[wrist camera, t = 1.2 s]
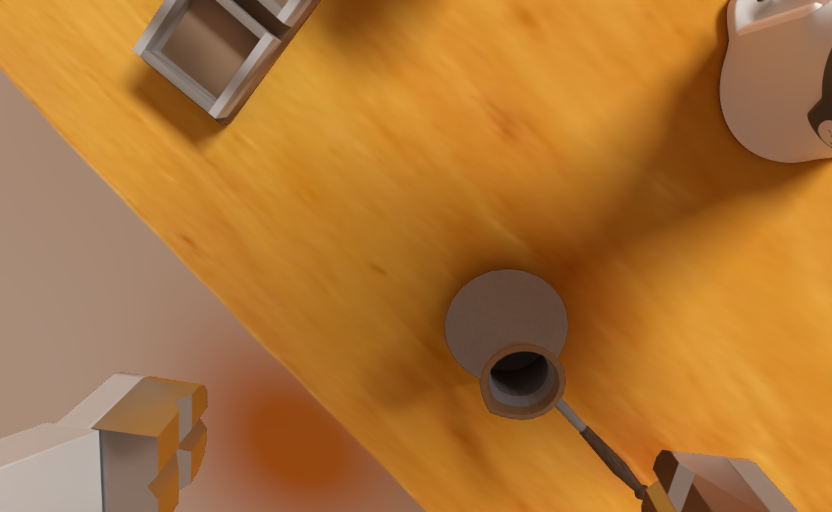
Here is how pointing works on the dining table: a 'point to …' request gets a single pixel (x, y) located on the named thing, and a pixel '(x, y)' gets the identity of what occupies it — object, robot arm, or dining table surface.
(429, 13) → the dining table surface
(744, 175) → the dining table surface
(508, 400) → the coffee pot
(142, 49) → the two-compartment tray
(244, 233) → the dining table surface
